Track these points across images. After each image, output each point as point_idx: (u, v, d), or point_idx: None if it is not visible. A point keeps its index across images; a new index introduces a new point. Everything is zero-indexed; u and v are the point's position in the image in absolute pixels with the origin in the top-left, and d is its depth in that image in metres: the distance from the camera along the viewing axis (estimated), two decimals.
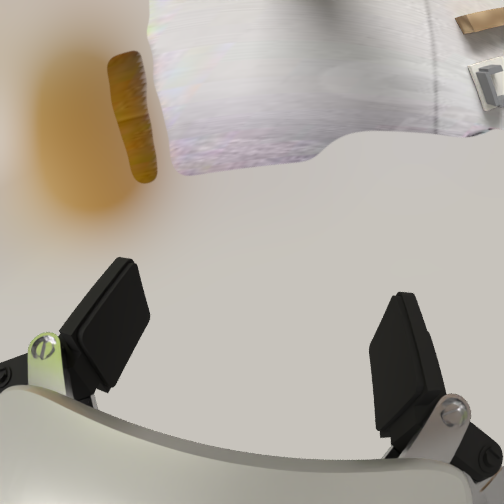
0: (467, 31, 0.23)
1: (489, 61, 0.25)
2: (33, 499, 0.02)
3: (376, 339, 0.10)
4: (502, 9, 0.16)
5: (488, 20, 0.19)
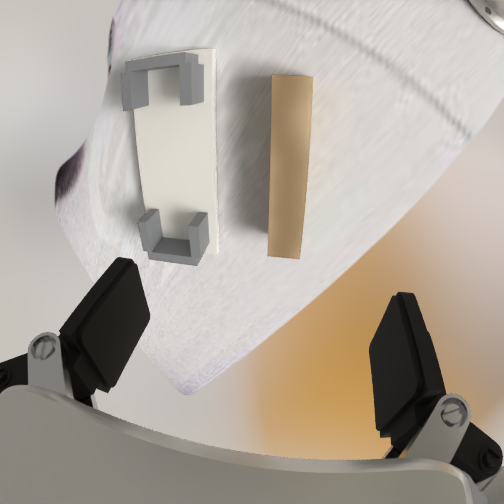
0: None
1: (210, 99, 0.22)
2: (33, 499, 0.02)
3: (376, 339, 0.10)
4: (301, 196, 0.23)
5: (288, 132, 0.20)
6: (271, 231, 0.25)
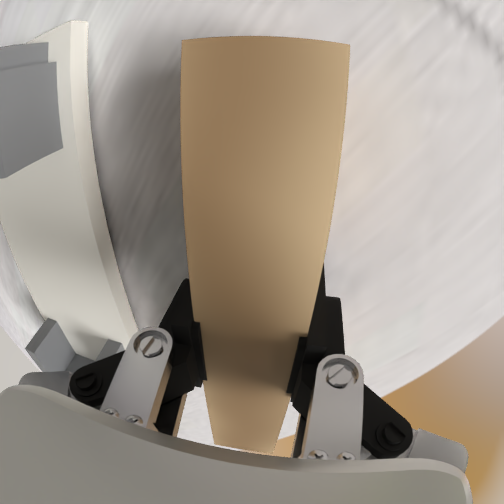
0: None
1: (72, 142, 0.08)
2: (33, 499, 0.02)
3: None
4: (280, 396, 0.09)
5: (245, 259, 0.06)
6: (217, 425, 0.11)
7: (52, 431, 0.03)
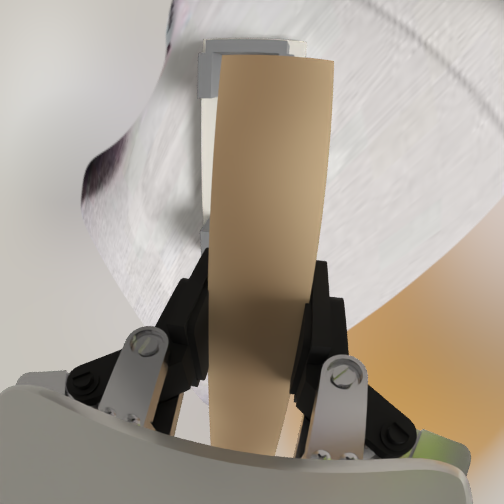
0: None
1: None
2: (33, 499, 0.02)
3: None
4: (284, 377, 0.09)
5: (259, 218, 0.08)
6: (216, 425, 0.11)
7: (52, 431, 0.03)
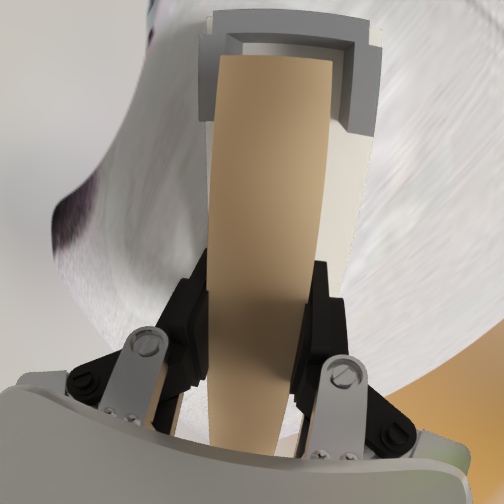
0: None
1: None
2: (33, 499, 0.02)
3: None
4: (283, 377, 0.09)
5: (257, 219, 0.08)
6: (215, 425, 0.10)
7: (52, 431, 0.03)
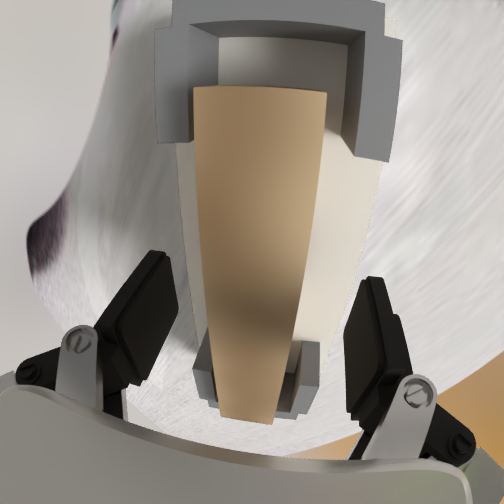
0: None
1: None
2: (33, 499, 0.02)
3: (349, 323, 0.10)
4: (277, 368, 0.11)
5: (246, 257, 0.08)
6: (223, 397, 0.13)
7: (52, 431, 0.03)
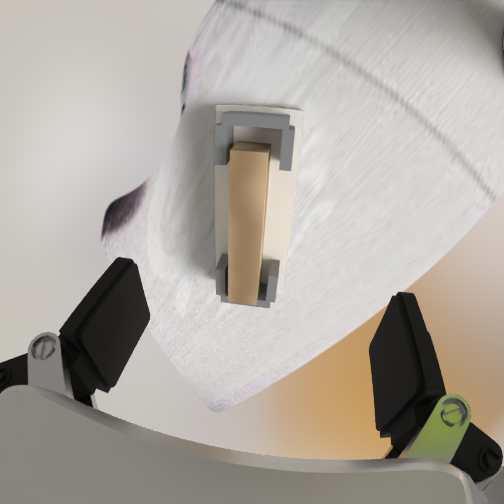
0: (239, 144, 0.24)
1: (297, 161, 0.26)
2: (33, 499, 0.02)
3: (376, 339, 0.10)
4: (256, 256, 0.27)
5: (244, 203, 0.24)
6: (231, 282, 0.29)
7: (52, 431, 0.03)
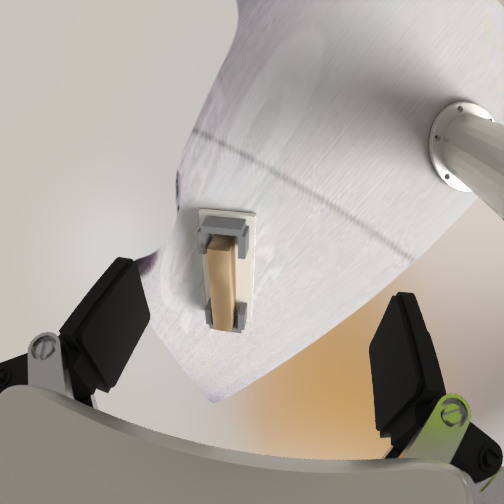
0: (213, 240, 0.40)
1: (252, 246, 0.42)
2: (33, 499, 0.02)
3: (376, 339, 0.10)
4: (228, 305, 0.43)
5: (218, 277, 0.40)
6: (214, 318, 0.45)
7: (52, 431, 0.03)
